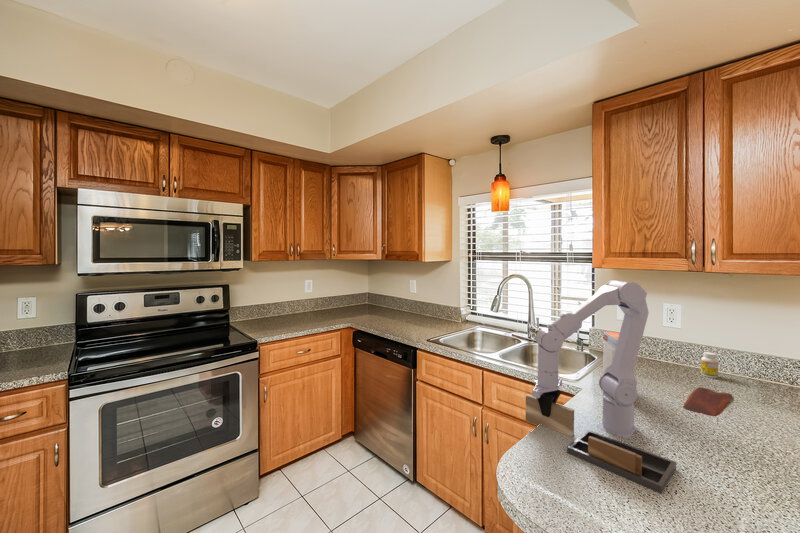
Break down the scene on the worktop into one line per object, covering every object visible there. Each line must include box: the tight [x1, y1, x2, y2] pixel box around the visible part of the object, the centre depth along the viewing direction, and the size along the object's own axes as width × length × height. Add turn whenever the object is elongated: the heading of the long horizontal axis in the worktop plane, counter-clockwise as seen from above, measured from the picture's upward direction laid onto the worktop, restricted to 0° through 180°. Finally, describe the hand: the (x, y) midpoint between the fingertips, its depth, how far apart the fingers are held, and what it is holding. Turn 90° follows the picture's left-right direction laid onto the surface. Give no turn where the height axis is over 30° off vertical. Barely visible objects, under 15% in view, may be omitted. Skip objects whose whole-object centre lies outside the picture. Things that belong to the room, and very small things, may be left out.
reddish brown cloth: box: [683, 386, 733, 417], centre depth 121 cm, size 27×10×2 cm, turn 128°
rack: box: [566, 429, 677, 494], centre depth 86 cm, size 13×20×2 cm, turn 40°
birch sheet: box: [525, 394, 575, 438], centre depth 103 cm, size 2×14×8 cm, turn 41°
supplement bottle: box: [700, 351, 719, 379], centre depth 144 cm, size 5×5×10 cm
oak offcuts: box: [588, 436, 642, 476], centre depth 84 cm, size 3×11×6 cm, turn 40°
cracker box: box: [602, 331, 636, 375], centre depth 130 cm, size 14×6×21 cm, turn 168°
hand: (547, 414), depth 103 cm, fingers closed on birch sheet, 1 cm apart
